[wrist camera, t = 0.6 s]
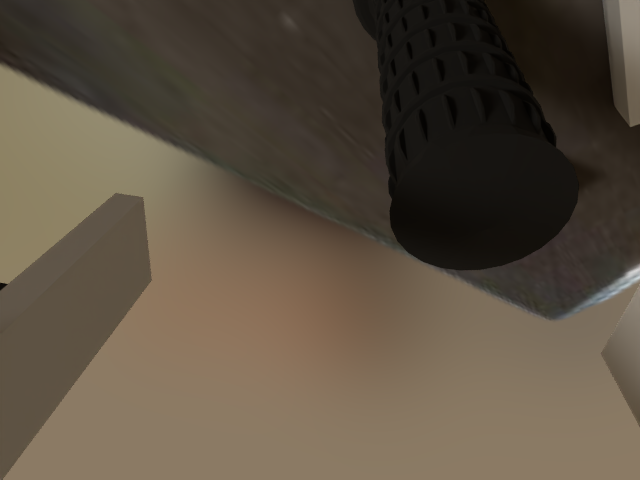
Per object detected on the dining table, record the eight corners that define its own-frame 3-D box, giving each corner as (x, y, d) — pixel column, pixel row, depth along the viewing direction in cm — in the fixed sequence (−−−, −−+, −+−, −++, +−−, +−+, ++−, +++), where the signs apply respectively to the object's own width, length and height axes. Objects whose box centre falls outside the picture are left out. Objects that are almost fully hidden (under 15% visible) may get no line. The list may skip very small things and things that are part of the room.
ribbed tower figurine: (392, 74, 41) (507, 5, 37) (423, 335, 22) (664, 259, 18) (326, -32, 35) (452, -129, 31) (295, 198, 17) (599, 40, 12)
